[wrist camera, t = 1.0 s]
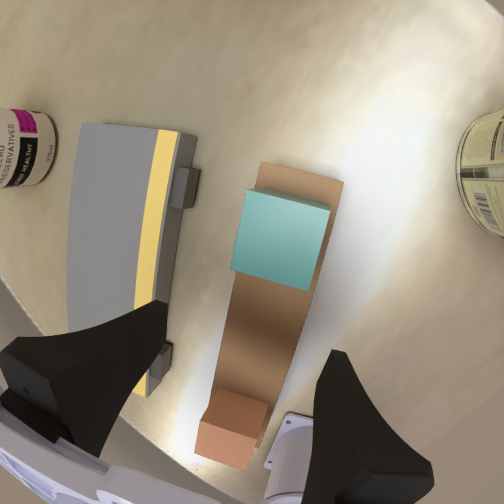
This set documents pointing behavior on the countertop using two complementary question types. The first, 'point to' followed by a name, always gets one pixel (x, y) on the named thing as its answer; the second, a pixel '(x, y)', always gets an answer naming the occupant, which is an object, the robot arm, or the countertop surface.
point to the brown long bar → (270, 306)
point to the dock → (126, 225)
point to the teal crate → (280, 237)
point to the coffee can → (483, 172)
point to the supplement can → (24, 147)
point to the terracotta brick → (230, 428)
